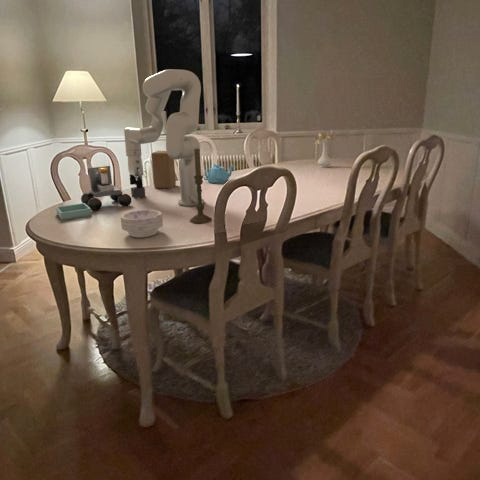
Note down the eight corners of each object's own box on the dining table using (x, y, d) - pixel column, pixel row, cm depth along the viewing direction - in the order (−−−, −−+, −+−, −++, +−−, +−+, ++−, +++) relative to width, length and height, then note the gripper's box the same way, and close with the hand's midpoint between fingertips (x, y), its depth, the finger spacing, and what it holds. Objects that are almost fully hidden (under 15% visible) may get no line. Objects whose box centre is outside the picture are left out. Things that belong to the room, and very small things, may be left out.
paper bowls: (150, 225, 172) (148, 206, 170) (171, 233, 162) (169, 213, 159) (115, 234, 163) (112, 214, 160) (135, 243, 152) (133, 222, 149)
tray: (91, 216, 189) (90, 208, 188) (62, 220, 183) (60, 212, 182) (85, 210, 199) (84, 203, 198) (57, 214, 193) (55, 207, 192)
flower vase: (308, 168, 293) (309, 130, 285) (323, 164, 306) (325, 128, 297) (324, 170, 284) (326, 131, 276) (339, 166, 297) (341, 129, 289)
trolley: (132, 205, 205) (128, 168, 199) (89, 212, 195) (83, 173, 189) (122, 199, 217) (118, 164, 212) (81, 205, 208) (76, 168, 202)
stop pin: (111, 190, 202) (108, 168, 198) (102, 191, 200) (99, 169, 196) (108, 188, 205) (106, 167, 201) (100, 189, 203) (97, 168, 200)
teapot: (200, 183, 253) (199, 165, 250) (215, 178, 265) (214, 162, 262) (221, 185, 246) (220, 167, 243) (235, 180, 258) (234, 163, 254)
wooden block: (170, 188, 240) (167, 152, 233) (153, 188, 242) (150, 152, 235) (176, 185, 249) (173, 150, 243) (160, 185, 251) (157, 150, 245)
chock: (145, 196, 223) (144, 187, 221) (134, 198, 220) (133, 188, 218) (142, 195, 226) (141, 186, 224) (131, 197, 223) (130, 187, 222)
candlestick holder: (203, 225, 171) (199, 149, 162) (185, 222, 176) (180, 148, 166) (216, 219, 179) (213, 146, 169) (198, 216, 183) (194, 145, 174)
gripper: (146, 154, 211) (149, 188, 216) (135, 150, 225) (137, 182, 230) (132, 155, 207) (135, 190, 213) (121, 151, 221) (124, 183, 227)
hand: (136, 186), depth 222 cm, fingers open, 9 cm apart
